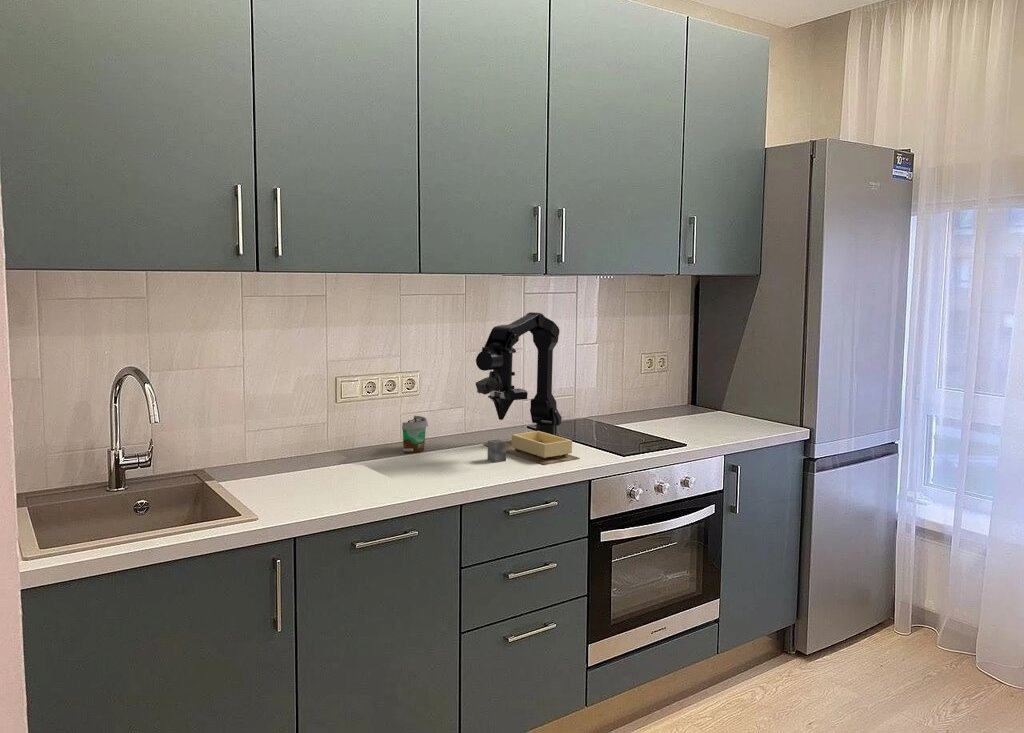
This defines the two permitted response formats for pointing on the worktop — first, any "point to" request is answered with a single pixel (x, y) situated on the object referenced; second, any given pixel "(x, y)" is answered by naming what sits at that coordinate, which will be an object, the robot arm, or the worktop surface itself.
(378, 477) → the worktop surface
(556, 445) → the wooden tray
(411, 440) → the food container
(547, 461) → the brown board
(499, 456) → the charcoal block
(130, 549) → the worktop surface
